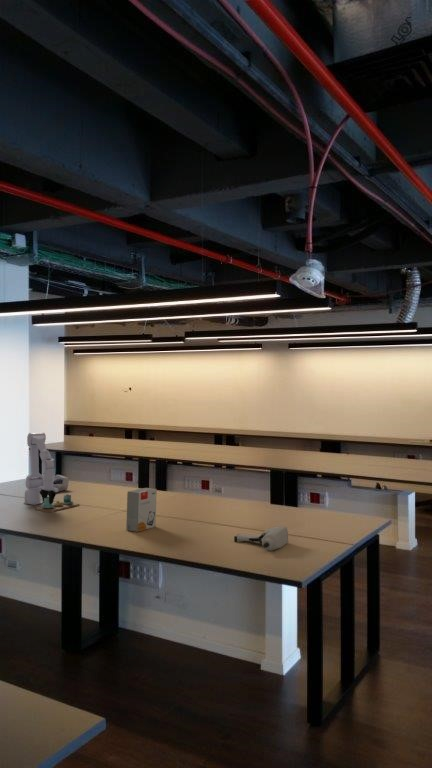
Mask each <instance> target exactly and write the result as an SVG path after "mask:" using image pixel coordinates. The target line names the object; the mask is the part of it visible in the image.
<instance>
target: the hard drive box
mask: <svg viewBox="0 0 432 768" xmlns="http://www.w3.org/2000/svg"><path fill="white" fill-rule="evenodd" d="M156 522H157V488H149V487H143V488H138V489H135V490H134V489H133V490H128V491H127V494H126V525H125V526H126V529H125V530H126V531H130V532H135V533H139V532H143V531H146V530H149V529H152V528H155V527H156V524H157V523H156Z"/></svg>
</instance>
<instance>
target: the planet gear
mask: <svg viewBox="0 0 432 768" xmlns="http://www.w3.org/2000/svg"><path fill="white" fill-rule="evenodd" d="M54 506H55V504H53V503H52V504H49V496H47V497H45V498H44V503H41V505H40V507H42V508H50V507H54Z"/></svg>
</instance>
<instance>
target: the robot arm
mask: <svg viewBox="0 0 432 768" xmlns="http://www.w3.org/2000/svg"><path fill="white" fill-rule="evenodd" d="M26 437H27V441H26V442H27V443H26V444H27V447H29V449H30V451H29V454H30V473H29V474H28V475H26V478H25V487H26V489H25V492H24V502H23V504H27V505H33V506H34V505H40V504H44V498H45V497H49V504H52V503H53V502H55V497H56V495H57V493H58V492H59V491H58V488H55V487H53V481H54V477H55V476H54V472H55V471H54V470H55V468H56V461H55V458H53V457H52V455H51V453H50V451H49V450H48V449H47V447H46V439H47V438H46V433H45V432H29V433H28V434H27V436H26ZM39 457H40V459H41V462H42V463H41V468H42V473H43V475H42V474H41V473H40V467H39V465H40V463H39V460H40V459H39ZM49 491H50V492H49ZM41 498H42V499H41Z"/></svg>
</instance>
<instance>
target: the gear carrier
mask: <svg viewBox="0 0 432 768" xmlns="http://www.w3.org/2000/svg"><path fill="white" fill-rule="evenodd" d="M53 504H55V506H54V507H50V508H42V507H41V506H38V507H35V510H36V511H42V512H46V513H54V512H58V511H63V510H66V509H67V510H68V509H71V508H75V507H79V506H80V503H76V502H74V500H72V494H69V493H66V494H64V495H63V500H62V501H59V500H56V501H53Z"/></svg>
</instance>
